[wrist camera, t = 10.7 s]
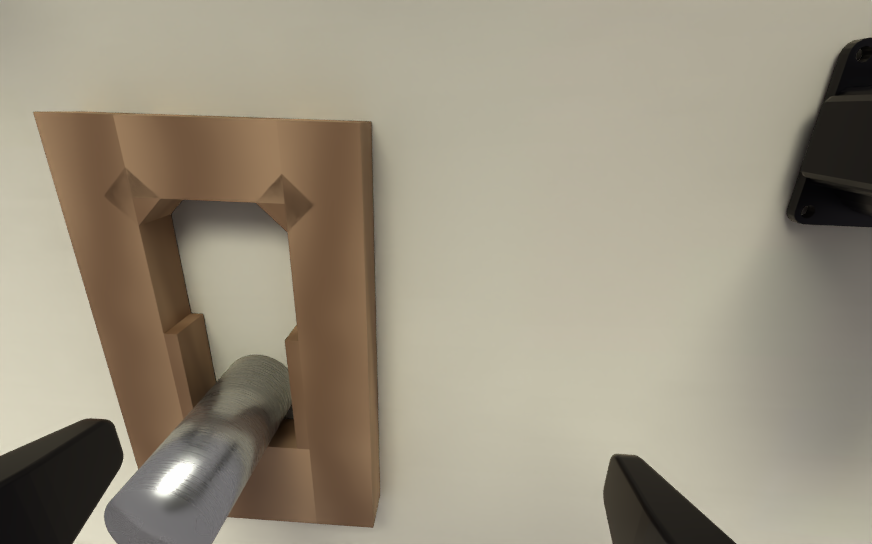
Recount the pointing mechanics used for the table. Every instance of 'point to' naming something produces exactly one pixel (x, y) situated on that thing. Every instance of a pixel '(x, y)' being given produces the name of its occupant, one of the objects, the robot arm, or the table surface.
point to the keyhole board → (184, 331)
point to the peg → (204, 459)
